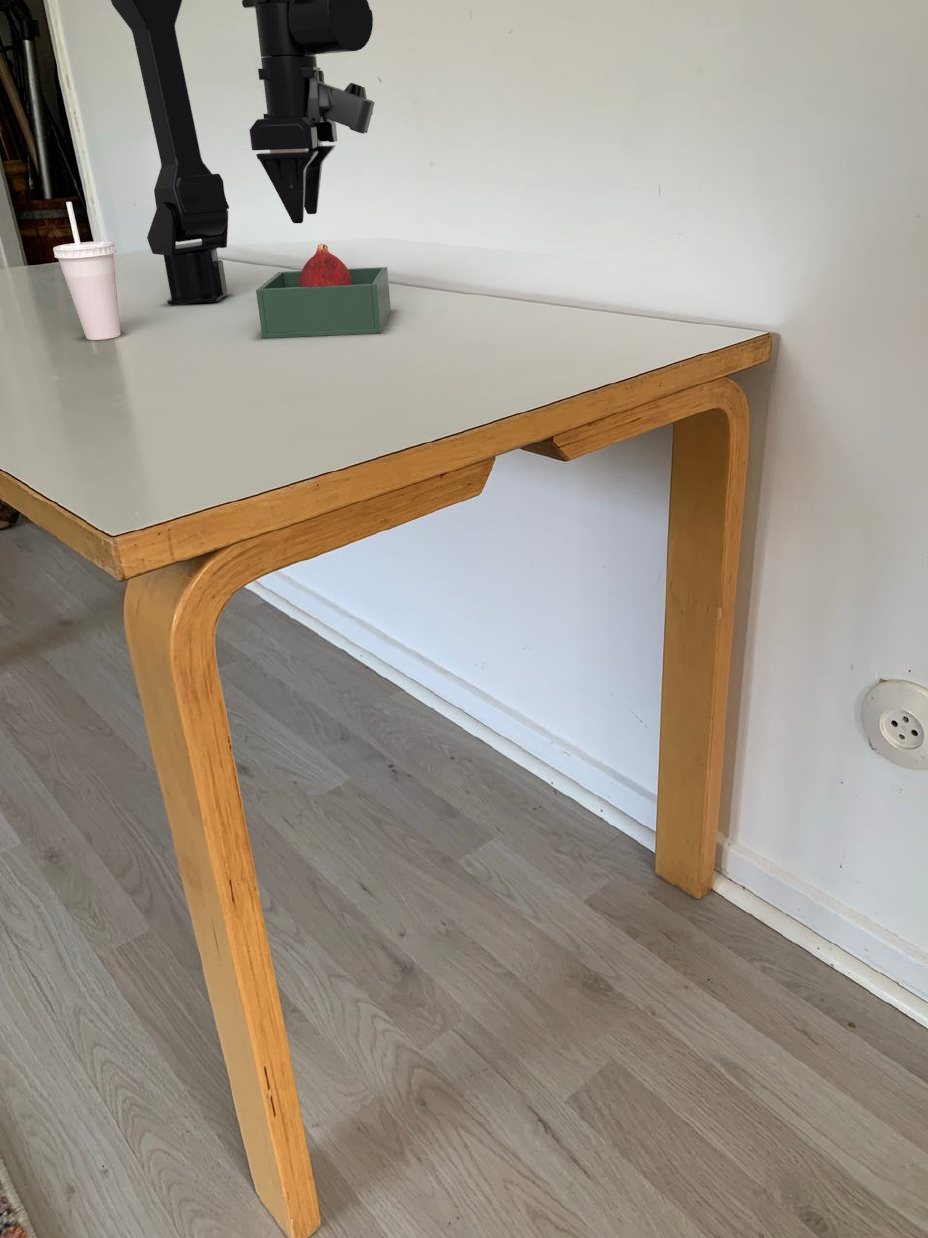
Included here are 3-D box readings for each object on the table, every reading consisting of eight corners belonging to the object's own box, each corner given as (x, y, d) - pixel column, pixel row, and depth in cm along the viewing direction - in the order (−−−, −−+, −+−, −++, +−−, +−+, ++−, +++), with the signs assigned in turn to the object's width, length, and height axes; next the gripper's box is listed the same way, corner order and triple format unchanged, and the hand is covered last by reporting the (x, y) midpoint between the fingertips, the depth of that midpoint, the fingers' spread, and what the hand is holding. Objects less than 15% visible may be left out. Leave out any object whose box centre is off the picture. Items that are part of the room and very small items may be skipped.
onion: (358, 321, 106) (351, 244, 102) (306, 326, 105) (297, 248, 101) (351, 312, 111) (344, 239, 107) (302, 316, 110) (293, 242, 106)
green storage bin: (262, 338, 103) (255, 289, 100) (284, 315, 114) (278, 271, 112) (380, 333, 102) (376, 284, 100) (390, 311, 113) (387, 266, 111)
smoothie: (70, 335, 109) (39, 202, 102) (127, 327, 111) (100, 197, 105) (77, 344, 104) (45, 205, 97) (137, 336, 106) (110, 200, 100)
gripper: (354, 50, 91) (367, 225, 98) (374, 57, 107) (384, 207, 115) (238, 54, 91) (260, 229, 99) (276, 60, 108) (293, 210, 115)
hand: (305, 218), depth 107 cm, fingers open, 9 cm apart
